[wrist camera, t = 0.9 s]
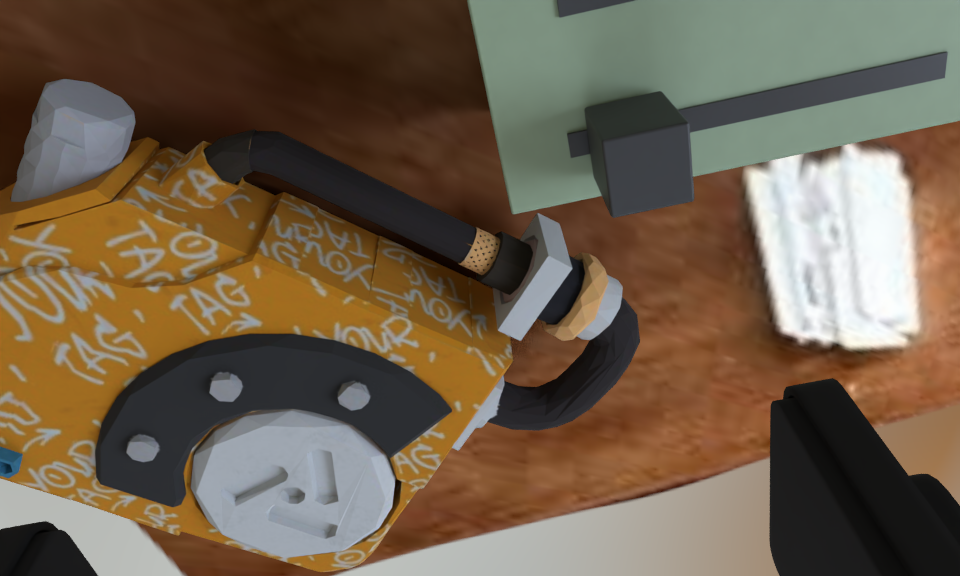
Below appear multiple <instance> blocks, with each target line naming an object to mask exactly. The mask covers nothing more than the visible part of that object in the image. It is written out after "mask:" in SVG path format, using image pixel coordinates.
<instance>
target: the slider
mask: <svg viewBox="0 0 960 576" xmlns="http://www.w3.org/2000/svg"><path fill="white" fill-rule="evenodd" d="M584 112H585V119H586V126H587V133H588V141H589V148H590V155H591V162H592V169H593V176H594V179H595V181H596V183H597V186H598V188H599V190H600V192H601V195H602V197H603V199H604V201H605V204H606V206H607V208H608V210H609V213H610V215H611V216H612V217H614V218H615V217H620V216H624V215H629V214H634V213H639V212H644V211H649V210H653V209H658V208H663V207H668V206H673V205H677V204H682V203H687V202H692V201H694V186H693V171H692V155H691V140H690V125H689V122H688V121H687V120H686V119H685V118H684V116H683V115H682V114H681V113H680V112H679V111H678V110H677V108H676V107H675V106H674V105H673V104H672V103H671V102H670V100H669V99H668V98H667V97H666V96H665V95H664V93H663V92H662V91H658V92H653V93H649V94H644V95H640V96H635V97H631V98H626V99H621V100H617V101H612V102H608V103H603V104H599V105H594V106H589V107H586V108H585V110H584Z"/></svg>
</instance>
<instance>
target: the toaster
mask: <svg viewBox="0 0 960 576" xmlns="http://www.w3.org/2000/svg"><path fill="white" fill-rule="evenodd" d="M467 3H468V8H469V12H470V17H471V22H472V27H473V31H474V36H475V41H476V46H477V51H478V55H479V60H480V65H481V70H482V74H483V79H484V84H485V89H486V94H487V98H488V103H489V108H490V113H491V117H492V122H493V127H494V132H495V137H496V141H497V146H498V151H499V156H500V160H501V165H502V170H503V175H504V180H505V184H506V189H507V194H508V199H509V204H510V208H511V212H512V214H518V213H522V212H527V211H532V210H537V209H541V208H546V207H551V206H556V205H560V204H565V203H570V202H575V201H579V200H584V199H589V198H594V197H598V196H602V195H601V192H600V190H599V188H598V186H597V183H596V181H595V179H594V176H593V169H592V162H591V155H590V148H589V141H588V133H587V126H586V119H585V112H584V110H585V108H586V107H589V106H594V105H599V104H603V103H608V102H612V101H617V100H621V99H626V98H631V97H635V96H640V95H644V94H649V93H653V92H658V91H662V92H663V93H664V95H665V96H666V97H667V98H668V99H669V100H670V102H671V103H672V104H673V105H674V106H675V107H676V108H677V110H678V111H679V112H680V113H681V114H682V115H683V116H684V118H685V119H686V120H687V121H688V122H689V125H690V140H691V155H692V171H693V177H694V176H698V175H703V174H708V173H713V172H717V171H722V170H727V169H732V168H737V167H741V166H746V165H751V164H756V163H760V162H765V161H770V160H775V159H779V158H784V157H789V156H794V155H798V154H803V153H808V152H813V151H817V150H822V149H827V148H832V147H837V146H841V145H846V144H851V143H856V142H860V141H865V140H870V139H875V138H879V137H884V136H889V135H894V134H898V133H903V132H908V131H913V130H917V129H922V128H927V127H932V126H937V125H941V124H946V123H951V122H956V121H960V0H467Z"/></svg>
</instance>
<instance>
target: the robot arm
mask: <svg viewBox="0 0 960 576" xmlns="http://www.w3.org/2000/svg"><path fill="white" fill-rule="evenodd" d="M770 548H771V553H772V557H773V560H774V563H775V566H776V568H777V571H778V573H779V575H780V576H960V506H959V504H958V503H957V502H956V500H955V499H954V498H953V497H952V495H951V494H950V493H949V491H948V490H947V489H946V488H945V487H944V486H943V485H942V484H941V483H940V482H939V481H938V480H937V479H935V478H934V477H932V476H930V475H929V474H916V475H911V476H908V475H907V473H906V472H905V470H904V469H903V468H902V466H901V465H900V464H899V462H898V461H897V460H896V458H895V457H894V456H893V454H892V453H891V451H890V450H889V449H888V447H887V446H886V445H885V443H884V442H883V441H882V439H881V438H880V437H879V435H878V434H877V432H876V431H875V430H874V428H873V427H872V426H871V424H870V423H869V422H868V420H867V419H866V418H865V416H864V415H863V414H862V412H861V411H860V409H859V408H858V407H857V405H856V404H855V403H854V401H853V400H852V399H851V397H850V396H849V395H848V393H847V392H846V391H845V389H844V388H843V387H842V385H841V384H840V383H839V382H838V381H837V380H835V379H833V378H832V379H826V380H821V381H815V382H810V383H804V384H799V385H793V386H788V387H786V388H785V391H784V396H783V399H782V400H777V401H773V402H772V404H771V421H770ZM0 576H98V575H97V574H96V572H95V571H94V569H93V568H92V567H91V565H90V564H89V562H88V561H87V560H86V558H85V557H84V556H83V554H82V553H81V551H80V550H79V549H78V547H77V546H76V544H75V543H74V542H73V540H72V539H71V537H70V536H69V535H68V534H67V533H66V532H65V531H62V530H58V529H57V528H56V527H55V526H54V525H53V524H51V523H49V522H38V523H32V524H26V525H21V526H15V527H10V528H4V529H1V530H0Z"/></svg>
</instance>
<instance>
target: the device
mask: <svg viewBox="0 0 960 576" xmlns="http://www.w3.org/2000/svg"><path fill="white" fill-rule="evenodd" d="M134 126H135V115H134V111H133V110H132V109H131V108H130V107H129V105H128V104H127V103H126V102H125V101H124V100H123V99H122V97H120V96H118V95H116V94H114V93H112V92H110V91H108V90H105V89H103V88H101V87H99V86H97V85H95V84H93V83H90V82H83V81H76V80H69V79H62V80H57V81H53V82H48V83H46V84H45V87H44V89H43V92H42V94H41V97H40V99H39V102H38V105H37V107H36V109H35V111H34V113H33V117H32V125H31V129H30V131H29V134H28V136H27V139H26V142H25V145H24V155H23V158H22V160H21V162H20V165H19V168H18V171H17V181H16V182H15V183H13V184H12V185H10V186H8V187H6V188H5V189H3V190H1V191H0V478H1V479H5V480H8V481H11V482H14V483H17V484H21V485H24V486H28V487H30V488H34V489H37V490H41V491H44V492H47V493H50V494H53V495H57V496H60V497H63V498H67V499H71V500H74V501H77V502H80V503H83V504H86V505H89V506H92V507H95V508H98V509H101V510H104V511H107V512H110V513H113V514H116V515H119V516H121V517H124V518H127V519H130V520H133V521H136V522H139V523H142V524H145V525H148V526H151V527H154V528H157V529H160V530H163V531H166V532H169V533H172V534H175V535H178V536H179V534H180V532H181V531H183V532H186V533H189V534H193V535H196V536H200V537H203V538H206V539H210V540H213V541H217V542H220V543H223V544H227V545H230V546H234V547H237V548H240V549H244V550H247V551H251V552H254V553H257V554H261V555H264V556H268V557H271V558H274V559H278V560H281V561H285V562H288V563H291V564H295V565H298V566H302V567H305V568H308V569H312V570H315V571H319V572H329V571H335V570H340V569H348V568H352V567H354V566H357V565H359V564H360V563H362V562H363V561H364V560H365V559H366V558H367V557H368V556H370V555H371V553H372V552H373V551H374V550H375V549H376V548H377V547H378V545H379V544H380V542H381V541H382V539H383V538H384V536H385V535H386V533H387V532H388V530H389V529H390V527H391V526H392V524H393V523H394V522H395V520H396V519H397V518H398V516H399V515H400V513H401V512H402V511H403V509H404V508H405V507H406V505H407V504H408V502H409V501H410V500H411V498H412V497H413V496H414V494H415V493H416V491H417V490H418V489H419V488H422V489H423V488H424V487H425V485H426V484H427V482H428V481H429V480H430V478H431V477H432V475H433V474H434V472H435V471H436V470H437V468H438V467H439V465H440V464H441V463H442V461H443V460H444V458H445V457H446V455H447V454H448V453H449V451H450V450H451V448H454V449H456V450H459V449H460V448H461V447H462V445H463V444H464V442H465V441H466V440H467V438H468V437H469V436H470V434H471V433H472V432H473V430H474V429H475V428H482V427H483V426H484V425H485V423H486V422H489V423H493V424H496V425H499V426H503V427H506V428H509V429H516V430H543V429H548V428H553V427H558V426H560V425H563V424H565V423H568V422H570V421H572V420H574V419H575V418H577V417H578V416H580V415H581V414H583V413H584V412H586V411H587V410H589V409H590V408H592V407H593V406H594V405H595V404H596V403H597V402H598V401H599V400H600V399H601V398H602V397H603V396H604V395H605V394H606V393H607V392H608V391H609V390H610V389H611V388H612V387H613V386H614V385H615V384H616V383H617V381H618V380H619V378H620V377H621V376H622V374H623V373H624V372H625V370H626V369H627V367H628V365H629V364H630V362H631V360H632V358H633V356H634V353H635V351H636V349H637V347H638V345H639V343H640V337H639V328H638V320H637V314H636V313H635V312H634V310H633V309H632V308H631V307H630V305H629V304H628V303H627V302H626V300H625V299H624V298H623V297H622V288H623V287H622V285H621V284H620V282H619V281H618V280H616V279H614V278H612V277H610V276H608V275H607V274H606V271H605V268H604V267H603V266H602V264H601V263H600V262H599V260H598V259H597V258H596V257H594V256H592V255H590V254H587V253H582V252H581V253H579V254H578V255H576V256H575V257H574V258H573V257H570V256H569V255H568V251H567V248H566V244H565V241H564V237H563V234H562V230H561V227H560V224H559V223H557V222H555V221H553V220H551V219H549V218H547V217H545V216H543V215H541V214H539V213H537V214H536V216H535V217H534V219H533V220H532V222H531V223H530V225H529V226H528V228H527V229H526V231H525V233H524V234H523V236H522V237H521V239H520V240H518V239H516V238H514V237H512V236H510V235H508V234H506V233H504V232H502V231H501V232H499V233H497V234H496V235H495V236H494V235H492V234H490V233H488V232H486V231H483V230H481V229H479V228H477V227H473V226H471V225H469V224H467V223H465V222H463V221H460V220H458V219H456V218H454V217H452V216H450V215H448V214H446V213H444V212H442V211H440V210H438V209H436V208H434V207H432V206H430V205H428V204H426V203H424V202H422V201H420V200H417V199H415V198H413V197H411V196H409V195H407V194H405V193H403V192H401V191H399V190H397V189H395V188H393V187H391V186H389V185H387V184H385V183H383V182H381V181H379V180H377V179H375V178H372V177H370V176H368V175H366V174H364V173H362V172H360V171H358V170H356V169H354V168H352V167H350V166H348V165H346V164H344V163H342V162H340V161H338V160H336V159H334V158H332V157H329V156H327V155H325V154H323V153H321V152H319V151H317V150H315V149H313V148H311V147H309V146H307V145H305V144H303V143H301V142H299V141H297V140H295V139H293V138H291V137H289V136H287V135H284V134H282V133H280V132H267V131H257V130H255V129H254V130H250V131H246V132H242V133H239V134H235V135H231V136H227V137H224V138H220V139H218V140H217V141H215V142H214V143H213V144H212V143H208V142H205V141H202V142H201V143H200V144H199V145H197V146H196V147H195V148H194V149H193V150H191V151H190V152H189V153H188V154H184V153H182V152H179V151H177V150H175V149H173V148H171V147H166V148H163V149H159V142H158V141H155V140H153V139H151V138H149V137H146V138H143V139H139V140H136V141H133V142H131V138H132V134H133V130H134ZM253 171H258V172H262V173H266V174H271V175H273V176H275V177H277V178H280V179H282V180H284V181H286V182H288V183H290V184H292V185H294V186H297V187H299V188H301V189H303V190H305V191H307V192H309V193H311V194H314V195H316V196H318V197H320V198H322V199H324V200H326V201H328V202H331V203H333V204H335V205H337V206H339V207H341V208H343V209H346V210H348V211H350V212H352V213H354V214H356V215H358V216H360V217H363V218H365V219H367V220H369V221H371V222H373V223H375V224H377V225H380V226H382V227H384V228H386V229H388V230H390V231H392V232H394V233H397V234H399V235H401V236H403V237H405V238H407V239H409V240H411V241H414V242H416V243H418V244H420V245H422V246H424V247H426V248H429V249H431V250H433V251H435V252H437V253H439V254H441V255H443V256H446V257H448V258H450V259H452V260H454V261H456V262H457V263H458V264H459V265H462V266H464V267H466V268H468V269H470V270H472V269H473V270H472V271H474V272H476V273H477V277H476V279H477V280H479V281H481V282H483V283H485V284H487V285H489V286H491V287H493V289H491V288H489V287H487V286H486V285H484V284H482V283H480V282H478V281H476V280H474V279H472V278H470V277H466V276H464V275H462V274H460V273H457V272H455V271H453V270H451V269H449V268H447V267H444V266H442V265H440V264H438V263H436V262H434V261H432V260H429V259H427V258H425V257H423V256H421V255H419V254H416V253H414V252H413V251H412V250H410V249H408V248H406V247H404V246H401V245H399V244H397V243H395V242H393V241H391V240H389V239H386V238H384V237H382V236H378V235H376V234H373V233H371V232H369V231H367V230H365V229H363V228H360V227H358V226H356V225H354V224H352V223H350V222H348V221H345V220H343V219H341V218H339V217H337V216H335V215H332V214H330V213H328V212H326V211H324V210H322V209H320V208H319V207H317V206H315V205H313V204H311V203H308V202H306V201H304V200H301V199H299V198H297V197H295V196H292V195H290V194H288V193H285V192H282V193H280V194H278V195H273V194H271V193H269V192H266V191H264V190H262V189H260V188H258V187H256V186H253V185H251V184H249V183H247V182H245V181H244V179H243V177H244V176H245V175H246V174H248V173H252V172H253ZM537 318H538V319H540V320H541V323H542V326H543V329H544V331H546V332H548V333H550V334H551V335H553V336H555V337H557V338H559V339H560V340H562V341H564V340H573V339H574V338H575V337H576V336H577V337H579V338H581V339H585V340H590V341H589V343H588V344H587V346H586V348H585V350H584V351H583V353H582V354H581V355H580V356H579V357H578V358H577V359H576V360H575V361H574V362H573V363H572V364H571V365H570V367H569V368H568V369H567V370H566V371H564V372H563V373H562V374H561V375H560V376H559V377H558V378H557V379H555V380H552V381H550V382H548V383H546V384H544V385H541V386H538V387H522V386H517V385H514V384H511V383H508V382H506V381H504V376H503V375H504V373H505V372H506V370H507V369H508V368H509V366H510V365H511V363H512V362H513V357H512V349H511V342H510V336H511V337H513V338H515V339H517V340H520V341H521V340H522V338H523V337H524V335H525V334H526V333H527V331H528V330H529V329H530V327H531V326H532V324H533V323H534V322H535V320H536V319H537Z"/></svg>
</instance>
